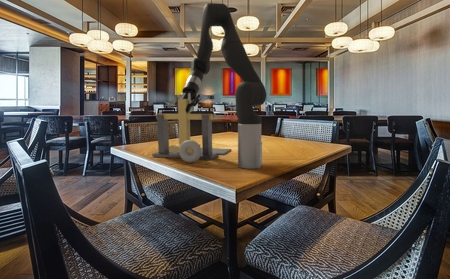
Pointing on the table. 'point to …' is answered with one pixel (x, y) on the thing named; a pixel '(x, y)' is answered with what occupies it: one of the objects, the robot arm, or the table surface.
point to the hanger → (183, 123)
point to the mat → (219, 151)
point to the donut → (196, 149)
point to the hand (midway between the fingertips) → (182, 111)
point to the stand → (205, 154)
